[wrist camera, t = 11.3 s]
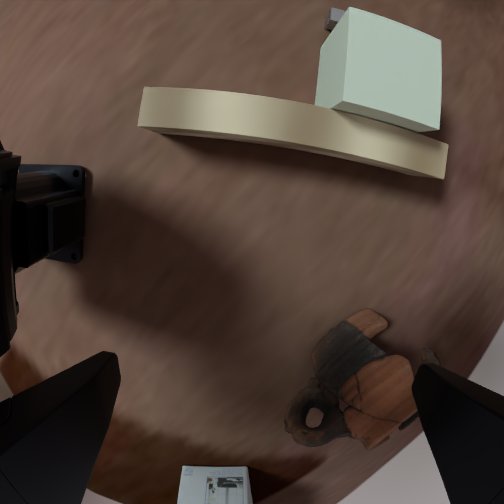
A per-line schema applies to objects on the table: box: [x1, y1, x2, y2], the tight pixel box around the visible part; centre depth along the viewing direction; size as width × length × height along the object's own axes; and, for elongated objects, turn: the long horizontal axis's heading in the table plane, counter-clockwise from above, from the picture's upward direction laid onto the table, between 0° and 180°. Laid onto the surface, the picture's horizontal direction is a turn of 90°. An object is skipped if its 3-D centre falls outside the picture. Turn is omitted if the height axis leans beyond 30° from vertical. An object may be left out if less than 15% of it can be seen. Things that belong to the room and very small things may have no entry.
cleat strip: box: [325, 7, 346, 31], centre depth 15 cm, size 7×1×2 cm, turn 82°
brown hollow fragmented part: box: [284, 308, 441, 450], centre depth 20 cm, size 12×10×8 cm
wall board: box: [138, 87, 448, 179], centre depth 15 cm, size 16×2×4 cm, turn 82°
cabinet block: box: [315, 7, 442, 133], centre depth 14 cm, size 5×5×6 cm
